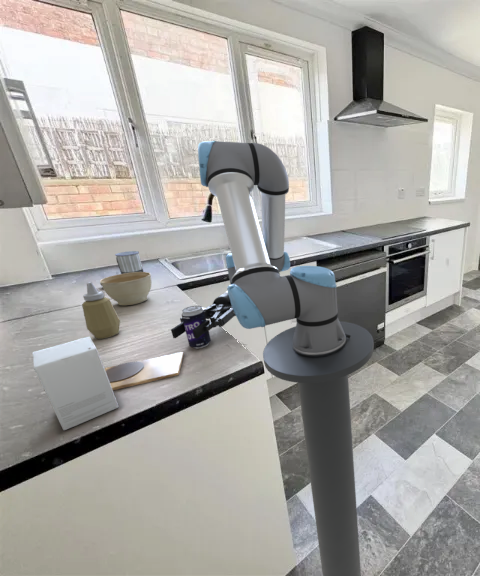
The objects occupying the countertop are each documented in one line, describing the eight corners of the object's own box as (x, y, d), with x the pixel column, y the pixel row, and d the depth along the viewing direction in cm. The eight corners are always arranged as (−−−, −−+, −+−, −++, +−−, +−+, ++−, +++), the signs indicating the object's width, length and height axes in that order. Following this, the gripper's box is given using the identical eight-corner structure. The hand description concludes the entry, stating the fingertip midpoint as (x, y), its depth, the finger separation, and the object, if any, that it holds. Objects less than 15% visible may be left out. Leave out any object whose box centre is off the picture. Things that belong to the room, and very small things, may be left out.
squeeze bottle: (92, 343, 95) (72, 288, 89) (89, 335, 100) (70, 283, 94) (125, 334, 101) (108, 282, 95) (121, 327, 106) (104, 277, 100)
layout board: (184, 353, 88) (183, 350, 88) (178, 375, 79) (177, 371, 78) (95, 372, 80) (93, 369, 80) (76, 399, 71) (75, 395, 70)
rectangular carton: (111, 390, 73) (91, 334, 68) (119, 407, 67) (97, 347, 63) (58, 411, 67) (30, 351, 62) (62, 432, 61) (32, 367, 56)
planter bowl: (158, 302, 127) (151, 277, 124) (107, 312, 118) (98, 285, 114) (155, 292, 139) (149, 269, 136) (109, 301, 130) (101, 276, 126)
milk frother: (151, 279, 158) (143, 251, 153) (122, 289, 143) (113, 258, 138) (127, 278, 160) (118, 250, 155) (96, 288, 145) (86, 258, 140)
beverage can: (187, 345, 93) (178, 308, 89) (207, 338, 97) (199, 303, 93) (193, 352, 89) (183, 314, 85) (214, 344, 93) (205, 308, 89)
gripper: (256, 313, 108) (218, 346, 87) (206, 312, 110) (156, 345, 88) (253, 293, 106) (213, 322, 84) (201, 292, 107) (149, 321, 85)
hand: (184, 334), depth 86 cm, fingers closed on beverage can, 6 cm apart
